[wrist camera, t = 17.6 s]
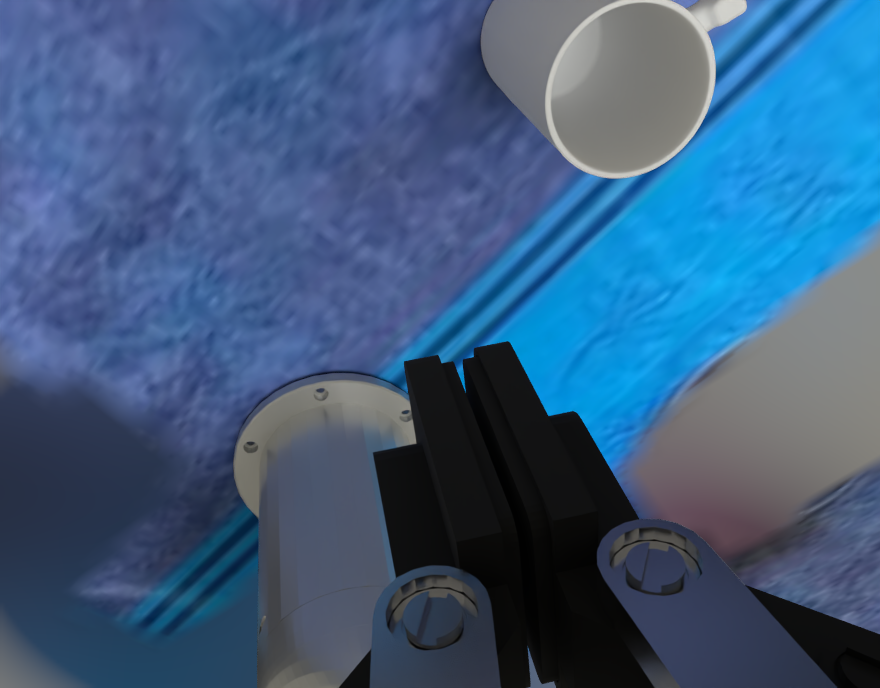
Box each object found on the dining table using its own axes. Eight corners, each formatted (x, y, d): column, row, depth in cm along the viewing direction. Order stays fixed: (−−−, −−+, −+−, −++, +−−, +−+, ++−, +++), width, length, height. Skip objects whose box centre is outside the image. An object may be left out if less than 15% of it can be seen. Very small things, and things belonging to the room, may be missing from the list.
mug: (515, 131, 43) (593, 211, 33) (448, 19, 39) (512, 70, 29) (679, 17, 41) (814, 64, 31) (625, -109, 38) (757, -103, 28)
